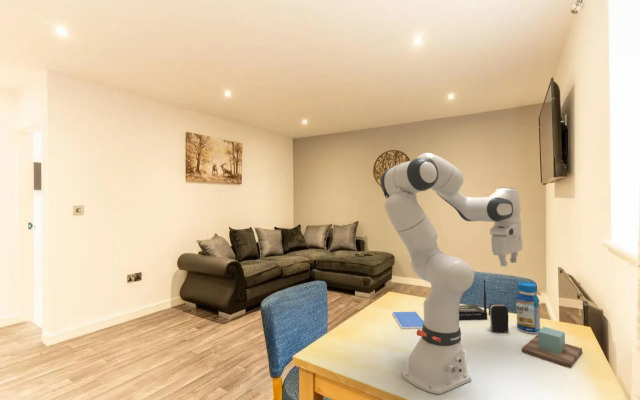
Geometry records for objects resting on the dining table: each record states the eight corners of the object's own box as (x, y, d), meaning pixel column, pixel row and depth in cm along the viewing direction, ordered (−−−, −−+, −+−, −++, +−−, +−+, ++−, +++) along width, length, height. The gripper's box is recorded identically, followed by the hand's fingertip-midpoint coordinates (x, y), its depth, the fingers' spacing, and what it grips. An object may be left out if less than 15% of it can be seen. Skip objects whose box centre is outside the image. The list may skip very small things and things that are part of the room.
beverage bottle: (545, 334, 124) (544, 286, 124) (524, 334, 124) (523, 286, 124) (531, 326, 132) (530, 280, 132) (512, 326, 132) (511, 281, 132)
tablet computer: (391, 314, 151) (391, 311, 152) (416, 313, 151) (416, 310, 151) (401, 330, 132) (401, 327, 132) (429, 329, 132) (429, 326, 132)
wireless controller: (455, 323, 138) (454, 286, 138) (442, 312, 152) (441, 278, 152) (498, 322, 138) (497, 285, 138) (481, 311, 152) (480, 277, 152)
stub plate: (570, 368, 99) (569, 353, 99) (521, 352, 110) (521, 338, 110) (582, 352, 109) (581, 338, 109) (536, 339, 120) (536, 326, 120)
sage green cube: (560, 354, 105) (559, 337, 105) (538, 347, 110) (537, 331, 110) (565, 348, 109) (564, 332, 109) (544, 342, 114) (543, 326, 114)
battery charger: (504, 329, 130) (503, 302, 130) (509, 332, 126) (508, 305, 126) (487, 328, 130) (487, 302, 130) (492, 332, 127) (491, 305, 127)
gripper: (509, 226, 126) (510, 259, 125) (487, 230, 113) (488, 267, 113) (526, 227, 121) (527, 261, 120) (506, 231, 108) (507, 269, 108)
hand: (508, 264), depth 117 cm, fingers open, 8 cm apart
